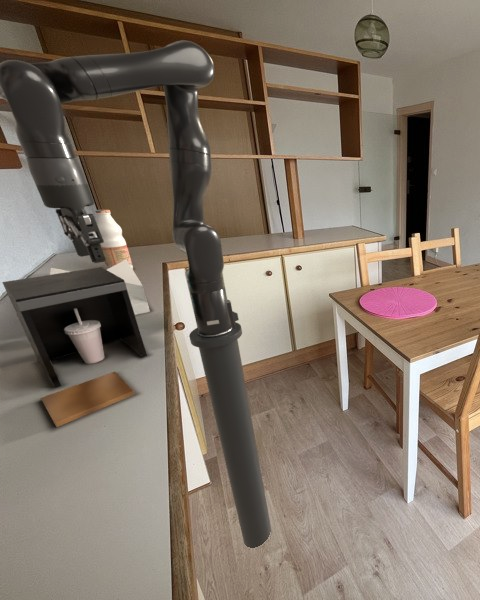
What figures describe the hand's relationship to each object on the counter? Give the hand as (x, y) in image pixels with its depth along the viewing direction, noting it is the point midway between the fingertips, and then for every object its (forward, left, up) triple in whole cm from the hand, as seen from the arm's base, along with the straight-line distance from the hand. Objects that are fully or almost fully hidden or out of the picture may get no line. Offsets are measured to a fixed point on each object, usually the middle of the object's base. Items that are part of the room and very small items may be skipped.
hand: (92, 258), depth 70 cm
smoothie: (+5, -6, -27) cm, 28 cm away
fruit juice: (-25, -95, -27) cm, 102 cm away
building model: (-9, -54, -27) cm, 61 cm away
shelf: (+5, -6, -27) cm, 28 cm away
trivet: (+10, +12, -27) cm, 31 cm away
